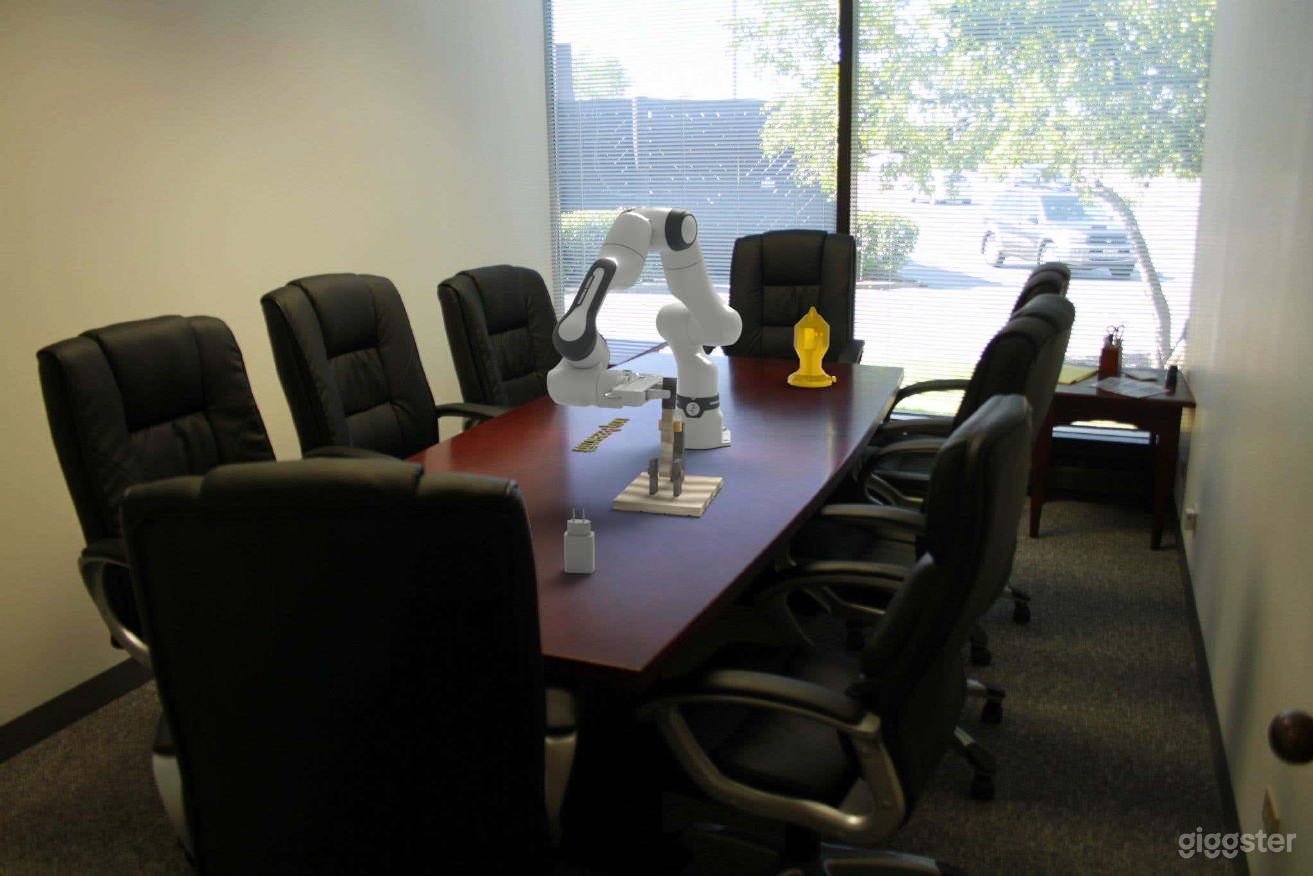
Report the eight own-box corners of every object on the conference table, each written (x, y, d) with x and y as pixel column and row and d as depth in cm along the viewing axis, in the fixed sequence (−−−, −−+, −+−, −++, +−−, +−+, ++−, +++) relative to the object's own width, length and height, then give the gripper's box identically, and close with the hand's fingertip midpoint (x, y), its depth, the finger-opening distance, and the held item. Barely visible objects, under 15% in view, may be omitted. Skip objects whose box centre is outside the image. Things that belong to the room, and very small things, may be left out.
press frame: (642, 479, 241) (642, 415, 237) (722, 485, 236) (723, 420, 232) (613, 509, 219) (612, 438, 215) (700, 516, 213) (701, 444, 210)
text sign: (565, 452, 268) (592, 454, 266) (565, 449, 268) (592, 451, 266) (610, 419, 305) (635, 421, 303) (610, 417, 305) (635, 419, 303)
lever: (660, 475, 224) (664, 377, 222) (673, 476, 223) (678, 377, 221) (656, 477, 221) (661, 377, 219) (670, 478, 220) (675, 377, 218)
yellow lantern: (831, 376, 374) (834, 303, 367) (839, 389, 350) (843, 310, 344) (785, 376, 375) (787, 303, 368) (790, 388, 351) (793, 310, 344)
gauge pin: (669, 421, 232) (669, 411, 232) (689, 422, 231) (689, 412, 231) (658, 430, 223) (658, 420, 223) (679, 432, 222) (679, 421, 222)
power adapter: (567, 566, 185) (565, 505, 183) (595, 567, 185) (594, 506, 182) (564, 572, 182) (562, 511, 180) (592, 573, 182) (591, 512, 179)
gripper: (599, 383, 214) (660, 386, 210) (627, 368, 233) (684, 370, 229) (600, 411, 215) (661, 415, 211) (628, 394, 234) (684, 397, 231)
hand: (673, 391), depth 220 cm, fingers open, 4 cm apart
